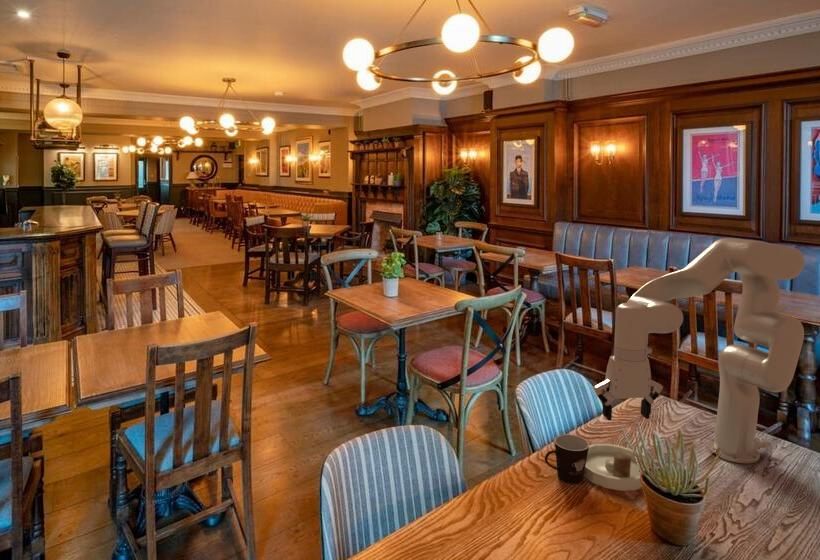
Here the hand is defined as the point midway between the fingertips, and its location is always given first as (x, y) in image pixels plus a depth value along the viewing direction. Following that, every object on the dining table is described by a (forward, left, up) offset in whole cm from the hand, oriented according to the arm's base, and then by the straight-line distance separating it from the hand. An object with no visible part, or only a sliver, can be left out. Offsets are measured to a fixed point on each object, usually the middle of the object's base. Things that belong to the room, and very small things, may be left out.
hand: (626, 417), depth 128 cm
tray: (0, -5, -18) cm, 19 cm away
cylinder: (0, 0, -17) cm, 17 cm away
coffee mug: (+14, -3, -18) cm, 23 cm away
